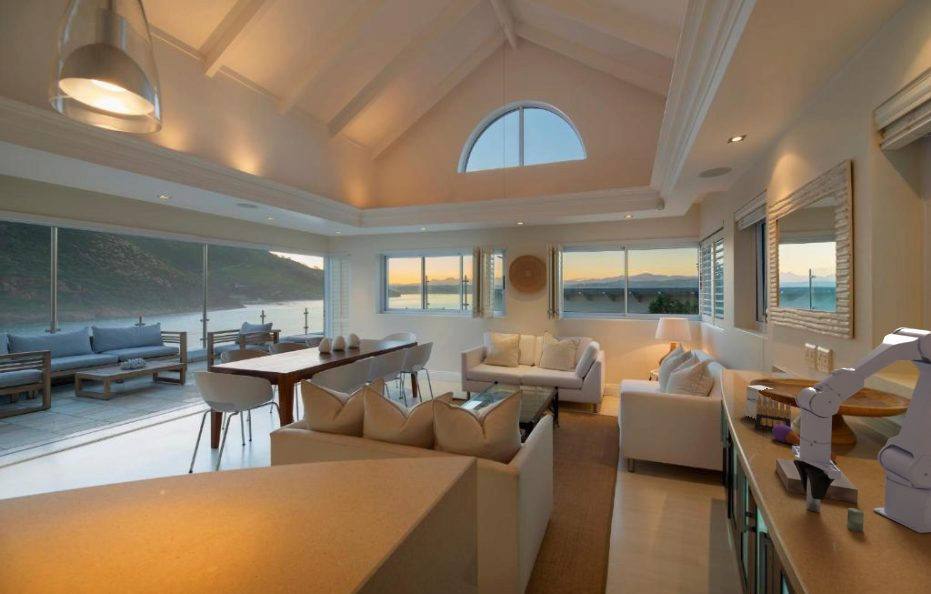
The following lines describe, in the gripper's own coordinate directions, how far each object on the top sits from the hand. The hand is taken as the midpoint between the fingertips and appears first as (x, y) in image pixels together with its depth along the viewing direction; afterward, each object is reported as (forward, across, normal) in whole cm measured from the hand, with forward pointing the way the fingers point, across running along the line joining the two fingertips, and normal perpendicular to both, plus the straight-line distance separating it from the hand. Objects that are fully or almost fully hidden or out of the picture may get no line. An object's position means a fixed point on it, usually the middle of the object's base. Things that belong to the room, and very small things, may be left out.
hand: (813, 495), depth 101 cm
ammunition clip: (+4, -61, +22) cm, 65 cm away
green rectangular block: (+4, +7, +4) cm, 9 cm away
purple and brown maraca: (+4, -42, +21) cm, 47 cm away
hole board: (+4, -14, +8) cm, 17 cm away
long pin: (+3, 0, 0) cm, 3 cm away
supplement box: (+4, -74, +24) cm, 78 cm away
